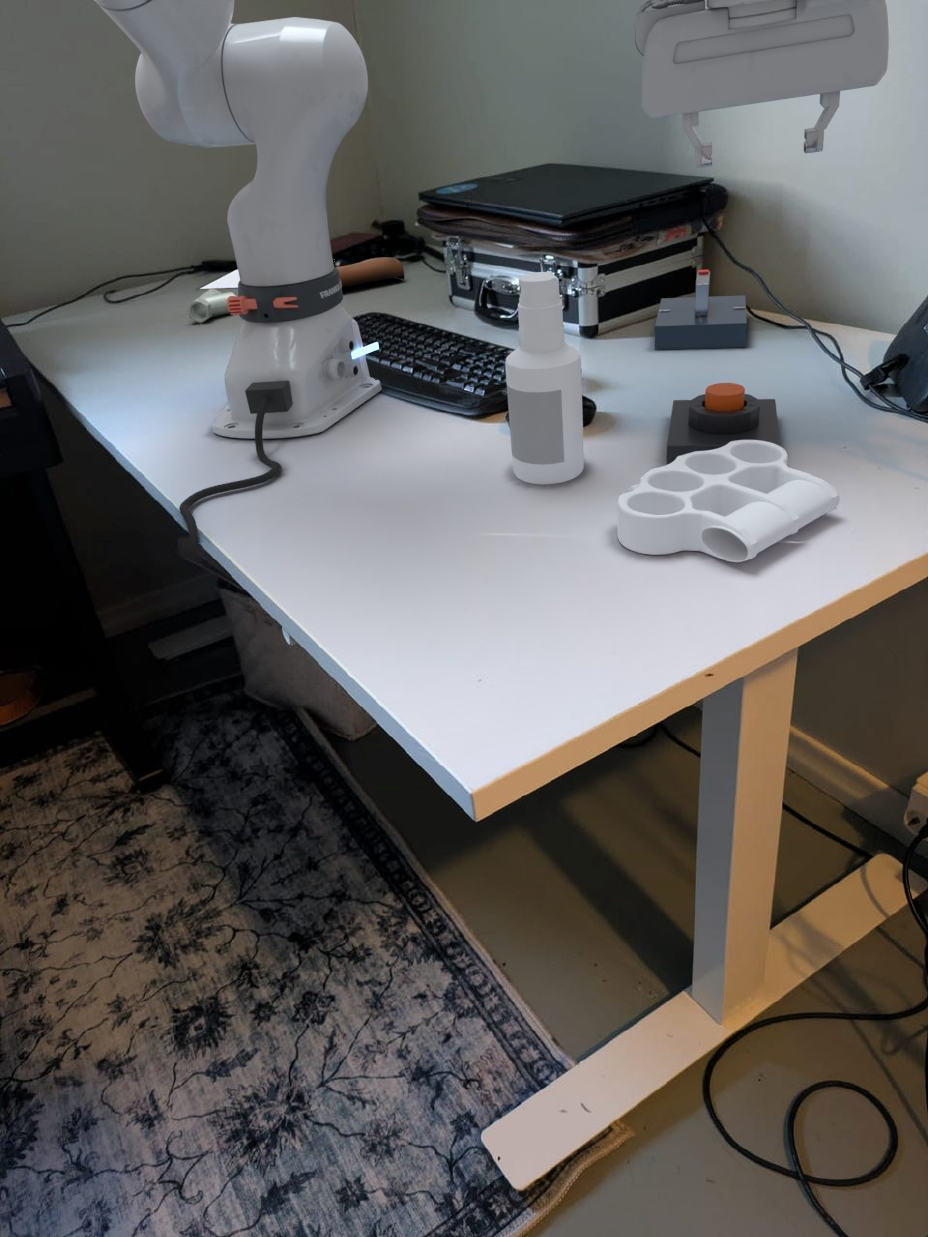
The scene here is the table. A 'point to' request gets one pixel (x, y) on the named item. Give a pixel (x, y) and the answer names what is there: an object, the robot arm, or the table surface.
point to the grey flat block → (701, 324)
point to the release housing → (719, 425)
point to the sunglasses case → (370, 271)
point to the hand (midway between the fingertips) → (757, 158)
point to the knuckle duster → (721, 502)
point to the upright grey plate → (702, 293)
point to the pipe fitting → (209, 305)
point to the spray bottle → (544, 388)
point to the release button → (724, 397)
